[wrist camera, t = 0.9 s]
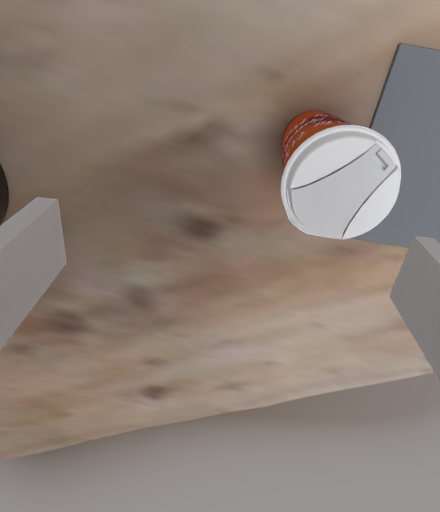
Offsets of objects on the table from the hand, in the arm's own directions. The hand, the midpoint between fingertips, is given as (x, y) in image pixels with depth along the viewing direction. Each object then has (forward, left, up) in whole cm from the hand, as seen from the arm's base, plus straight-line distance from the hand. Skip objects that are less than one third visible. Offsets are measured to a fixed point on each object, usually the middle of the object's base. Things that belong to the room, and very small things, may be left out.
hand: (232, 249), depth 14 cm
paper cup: (+7, 0, -25) cm, 25 cm away
